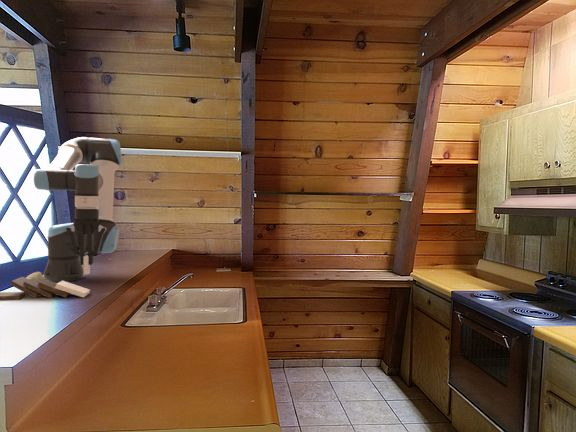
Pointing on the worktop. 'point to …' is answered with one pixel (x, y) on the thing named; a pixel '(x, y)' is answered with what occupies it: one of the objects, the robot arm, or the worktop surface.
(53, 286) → the domino
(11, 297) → the domino
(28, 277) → the seashell
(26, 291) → the domino
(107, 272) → the worktop surface
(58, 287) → the domino
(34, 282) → the domino
